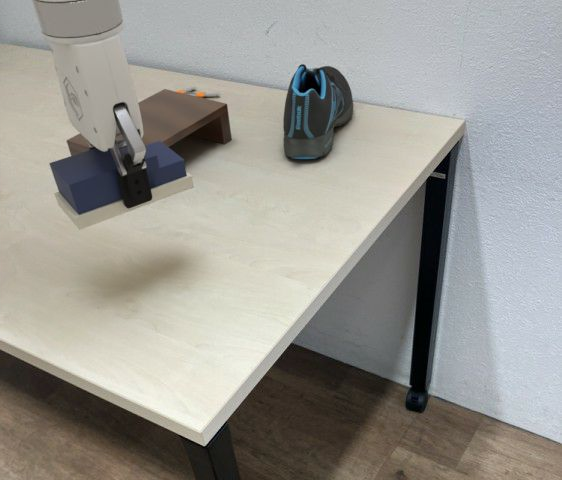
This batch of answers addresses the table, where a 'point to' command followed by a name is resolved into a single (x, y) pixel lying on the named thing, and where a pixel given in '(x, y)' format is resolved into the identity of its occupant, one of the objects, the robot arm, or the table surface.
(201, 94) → the key chain
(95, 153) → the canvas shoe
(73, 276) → the table surface
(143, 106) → the shoe shelf
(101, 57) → the robot arm
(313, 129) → the running shoe
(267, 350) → the table surface
